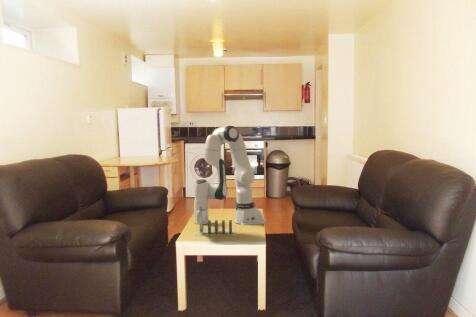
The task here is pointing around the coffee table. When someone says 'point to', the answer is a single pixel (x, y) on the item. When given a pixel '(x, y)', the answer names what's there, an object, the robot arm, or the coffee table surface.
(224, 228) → the domino
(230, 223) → the domino
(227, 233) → the runner mat
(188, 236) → the coffee table surface
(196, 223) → the milk carton
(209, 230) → the domino
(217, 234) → the domino
